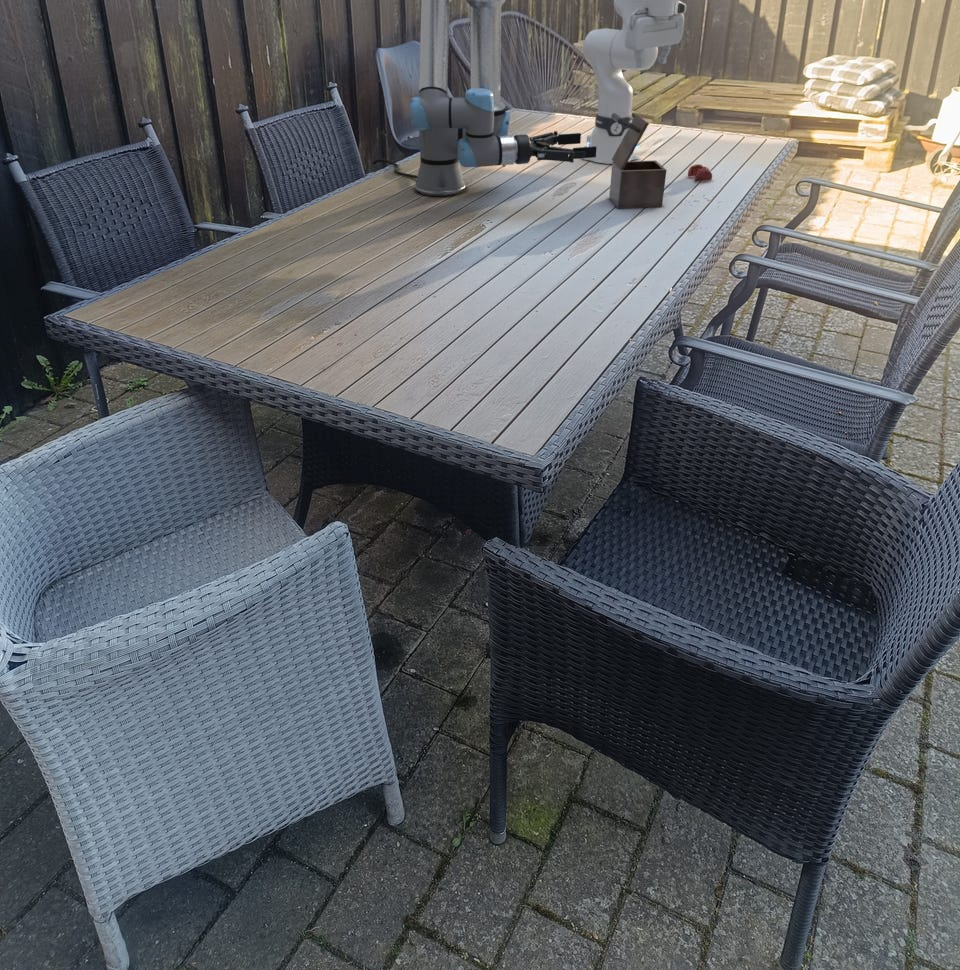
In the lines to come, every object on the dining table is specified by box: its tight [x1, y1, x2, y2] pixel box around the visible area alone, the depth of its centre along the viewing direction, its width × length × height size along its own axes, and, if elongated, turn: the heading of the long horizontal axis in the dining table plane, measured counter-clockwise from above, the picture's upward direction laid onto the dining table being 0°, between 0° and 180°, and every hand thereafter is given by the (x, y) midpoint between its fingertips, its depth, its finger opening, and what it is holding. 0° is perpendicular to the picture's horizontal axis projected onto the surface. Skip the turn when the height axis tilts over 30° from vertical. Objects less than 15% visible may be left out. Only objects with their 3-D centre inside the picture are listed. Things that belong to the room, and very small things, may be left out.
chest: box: [609, 160, 667, 210], centre depth 245 cm, size 13×10×10 cm
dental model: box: [687, 163, 713, 182], centre depth 266 cm, size 6×4×8 cm
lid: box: [611, 113, 650, 170], centre depth 237 cm, size 14×10×8 cm
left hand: (588, 144), depth 235 cm, fingers open, 13 cm apart
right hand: (651, 65), depth 227 cm, fingers open, 8 cm apart
